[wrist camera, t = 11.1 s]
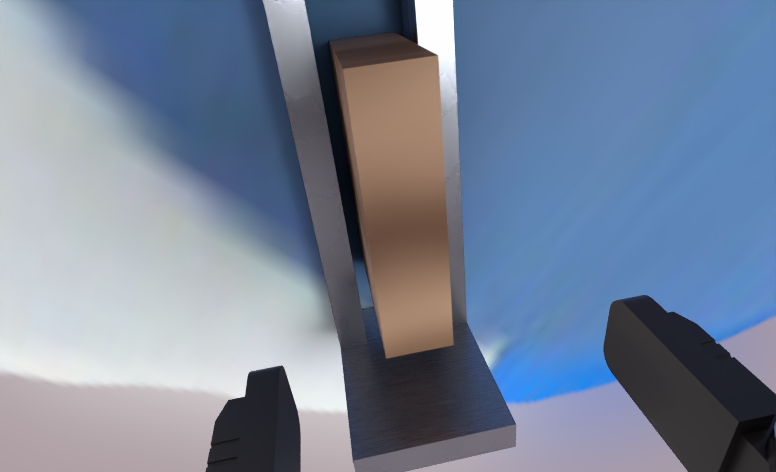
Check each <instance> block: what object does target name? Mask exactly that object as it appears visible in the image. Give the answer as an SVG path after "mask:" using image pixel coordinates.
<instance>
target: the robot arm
mask: <svg viewBox="0 0 776 472" xmlns="http://www.w3.org/2000/svg"><path fill="white" fill-rule="evenodd" d="M604 356H605V360H606V363H607V365H608V367H609V369H610V371H611V372H612V374H613V375H614V376H615V378H616V379H617V380H618V381H619V383H620V384H621V385H622V386H623V388H624V389H625V390H626V392H627V393H628V394H629V395H630V397H631V398H632V400H633V401H634V402H635V403H636V405H637V406H638V407H639V409H640V410H641V411H642V412H643V414H644V415H645V416H646V417H647V419H648V420H649V422H650V423H651V424H652V425H653V427H654V428H655V429H656V430H657V432H658V433H659V434H660V436H661V437H662V438H663V440H664V441H665V442H666V443H667V445H668V446H669V447H670V449H671V450H672V451H673V453H674V454H675V455H676V457H677V458H678V459H679V460H680V462H681V463H682V464H683V466H684V467H685V468H686V469H687V471H688V472H776V394H775V393H774V392H772V391H771V390H770V389H769V388H768V387H767V386H766V385H765V384H764V383H762V382H761V381H760V380H759V379H758V378H757V377H756V376H755V375H753V374H752V373H751V372H750V371H749V370H748V369H747V368H746V367H744V366H743V365H742V364H741V363H740V362H739V361H738V360H737V359H736V358H734V357H733V358H731V356H730V353H729V352H728V351H727V350H725V349H724V348H723V347H722V346H721V345H720V344H716V342H715V340H714V339H713V338H712V337H711V336H710V335H709V334H708V333H706V332H705V331H704V330H703V329H702V328H701V327H700V326H699V325H697V324H696V323H694V322H692V321H690V320H688V319H686V318H684V317H683V316H681V315H679V314H677V313H675V312H669V313H667V312H666V311H665V310H664V309H663V308H662V307H661V306H660V305H659V304H658V303H657V302H656V301H654V300H653V299H652V298H651V297H649V296H647V295H642V296H637V297H632V298H627V299H622V300H616V301H614V302H613V303H612V304H611V306H610V311H609V317H608V323H607V329H606V335H605V341H604ZM207 464H208V468H206V472H300V424H299V417H298V412H297V408H296V404H295V401H294V398H293V395H292V392H291V388H290V385H289V382H288V379H287V376H286V372H285V369H284V367H283V366H276V367H271V368H266V369H261V370H256V371H251V372H249V374H248V379H247V386H246V394H245V397H242V398H237V399H232V400H228V402H227V403H226V405H225V406H224V408H223V410H222V411H221V413H220V415H219V416H218V418H217V419H216V421H215V425H214V431H213V436H212V441H211V449H210V452H209V457H208V462H207Z"/></svg>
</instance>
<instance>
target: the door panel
mask: <svg viewBox="0 0 776 472" xmlns="http://www.w3.org/2000/svg"><path fill="white" fill-rule="evenodd" d="M329 46H330V52H331V58H332V65H333V71H334V77H335V84H336V90H337V96H338V102H339V109H340V115H341V121H342V127H343V134H344V140H345V146H346V153H347V159H348V165H349V171H350V178H351V184H352V190H353V196H354V203H355V209H356V215H357V222H358V228H359V234H360V240H361V247H362V253H363V259H364V265H365V269H366V273H367V278H368V282H369V286H370V291H371V295H372V299H373V303H374V308H375V312H376V316H377V321H378V325H379V329H380V334H381V338H382V342H383V347H384V351H385V355H386V359H387V358H392V357H397V356H402V355H407V354H412V353H417V352H421V351H426V350H431V349H436V348H441V347H446V346H451V345H454V343H453V324H452V305H451V286H450V266H449V247H448V228H447V209H446V190H445V171H444V152H443V132H442V113H441V94H440V75H439V56H438V55H437V54H435V53H433V52H431V51H429V50H427V49H425V48H424V47H422V46H420V45H418V44H416V43H414V42H412V41H410V40H408V39H406V38H404V37H403V36H401V35H399V34H397V33H395V32H389V33H382V34H374V35H367V36H360V37H352V38H345V39H338V40H331V41H329Z"/></svg>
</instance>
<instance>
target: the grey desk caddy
mask: <svg viewBox="0 0 776 472" xmlns="http://www.w3.org/2000/svg"><path fill="white" fill-rule="evenodd" d="M263 3H264V7H265V11H266V16H267V20H268V25H269V29H270V34H271V38H272V43H273V47H274V52H275V56H276V61H277V65H278V70H279V74H280V78H281V83H282V87H283V92H284V96H285V101H286V105H287V110H288V114H289V119H290V123H291V128H292V132H293V137H294V141H295V146H296V150H297V154H298V159H299V163H300V168H301V172H302V177H303V181H304V186H305V190H306V195H307V199H308V204H309V208H310V213H311V217H312V221H313V226H314V230H315V235H316V239H317V244H318V248H319V253H320V257H321V262H322V266H323V271H324V275H325V280H326V284H327V288H328V293H329V297H330V302H331V306H332V311H333V315H334V320H335V324H336V329H337V333H338V338H339V342H340V347H341V354H342V364H343V373H344V382H345V392H346V401H347V410H348V419H349V428H350V438H351V446H352V447H351V448H352V457H353V463H354V467H355V471H356V472H405V471H410V470H414V469H419V468H423V467H427V466H432V465H436V464H441V463H445V462H449V461H454V460H458V459H463V458H467V457H471V456H476V455H480V454H484V453H489V452H493V451H498V450H502V449H506V448H511V447H515V446H516V423H515V421H514V419H513V417H512V415H511V413H510V411H509V409H508V407H507V405H506V402H505V400H504V398H503V396H502V394H501V392H500V390H499V388H498V386H497V384H496V382H495V380H494V378H493V376H492V374H491V372H490V369H489V367H488V365H487V363H486V361H485V359H484V357H483V355H482V353H481V351H480V349H479V347H478V345H477V343H476V341H475V339H474V336H473V334H472V332H471V330H470V328H469V326H468V324H467V317H466V294H465V271H464V249H463V226H462V203H461V181H460V158H459V135H458V112H457V90H456V67H455V44H454V22H453V0H401V7H402V18H403V29H404V38H406V39H408V40H410V41H412V42H414V43H416V44H418V45H420V46H422V47H424V48H425V49H427V50H429V51H431V52H433V53H435V54H437V55H438V56H439V75H440V94H441V113H442V132H443V152H444V171H445V190H446V209H447V228H448V247H449V266H450V286H451V305H452V324H453V343H454V345H451V346H446V347H441V348H436V349H431V350H426V351H421V352H417V353H412V354H407V355H402V356H397V357H392V358H387V359H386V355H385V351H384V347H383V342H382V338H381V334H380V329H379V325H378V321H377V316H376V312H375V308H374V307H373V308H368V309H363V310H361V304H360V299H359V293H358V288H357V283H356V277H355V272H354V266H353V261H352V255H351V250H350V245H349V239H348V234H347V228H346V223H345V217H344V212H343V207H342V201H341V196H340V190H339V185H338V180H337V174H336V169H335V163H334V158H333V152H332V147H331V142H330V136H329V131H328V125H327V120H326V114H325V109H324V104H323V98H322V93H321V87H320V82H319V77H318V71H317V66H316V60H315V55H314V49H313V44H312V39H311V33H310V28H309V22H308V17H307V12H306V6H305V1H304V0H263Z"/></svg>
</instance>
